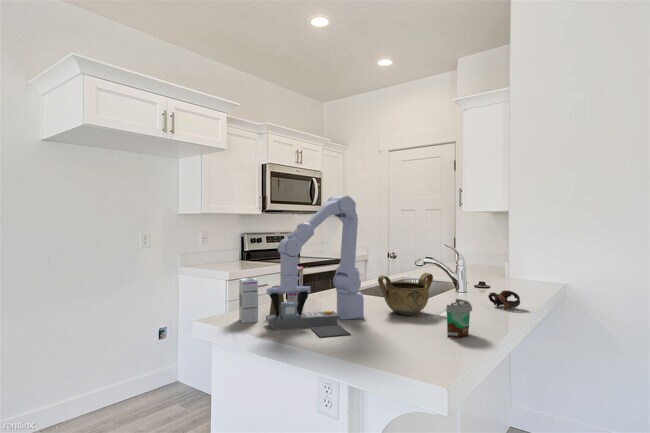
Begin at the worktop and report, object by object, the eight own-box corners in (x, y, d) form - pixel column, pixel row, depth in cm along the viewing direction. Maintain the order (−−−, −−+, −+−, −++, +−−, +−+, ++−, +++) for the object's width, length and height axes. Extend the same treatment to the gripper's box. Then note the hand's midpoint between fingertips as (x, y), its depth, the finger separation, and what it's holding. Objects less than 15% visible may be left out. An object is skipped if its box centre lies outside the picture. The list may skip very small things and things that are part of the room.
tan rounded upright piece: (282, 318, 139) (283, 287, 140) (266, 317, 141) (267, 286, 141) (287, 314, 145) (288, 285, 146) (272, 313, 147) (272, 284, 147)
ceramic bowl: (419, 306, 161) (419, 270, 161) (444, 316, 145) (444, 275, 145) (370, 310, 154) (370, 272, 154) (390, 320, 138) (390, 278, 138)
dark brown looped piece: (517, 308, 163) (523, 292, 159) (515, 322, 156) (520, 306, 152) (487, 298, 168) (492, 283, 164) (483, 311, 161) (488, 296, 157)
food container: (467, 342, 114) (467, 307, 114) (446, 338, 117) (446, 305, 117) (475, 332, 124) (476, 300, 125) (456, 329, 128) (456, 298, 128)
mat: (339, 326, 129) (339, 325, 129) (350, 335, 120) (350, 333, 120) (310, 328, 126) (310, 327, 126) (319, 337, 117) (319, 336, 117)
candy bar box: (299, 312, 150) (299, 269, 150) (286, 311, 150) (286, 269, 150) (303, 305, 161) (303, 266, 161) (291, 305, 161) (291, 265, 161)
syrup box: (258, 321, 134) (259, 279, 135) (241, 323, 132) (241, 280, 132) (255, 318, 140) (255, 277, 140) (238, 319, 137) (238, 278, 138)
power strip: (333, 319, 139) (333, 308, 139) (339, 324, 132) (340, 313, 132) (265, 324, 131) (265, 313, 131) (269, 329, 125) (269, 317, 125)
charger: (293, 317, 133) (293, 301, 133) (296, 321, 128) (296, 304, 129) (280, 318, 131) (280, 302, 132) (283, 322, 127) (283, 305, 127)
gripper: (306, 272, 136) (306, 311, 136) (265, 273, 132) (264, 313, 132) (312, 274, 130) (311, 315, 129) (268, 276, 125) (268, 318, 125)
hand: (288, 315), depth 130 cm, fingers open, 7 cm apart
